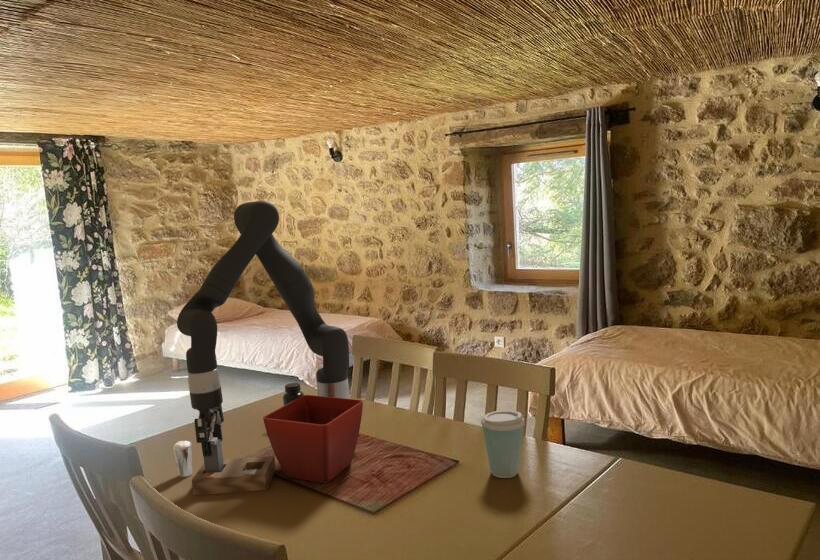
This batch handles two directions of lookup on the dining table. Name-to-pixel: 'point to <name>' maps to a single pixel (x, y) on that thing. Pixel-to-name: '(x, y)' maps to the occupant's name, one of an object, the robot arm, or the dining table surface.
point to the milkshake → (183, 458)
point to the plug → (214, 457)
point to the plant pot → (315, 436)
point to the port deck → (236, 476)
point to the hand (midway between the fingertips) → (213, 448)
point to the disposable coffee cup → (503, 441)
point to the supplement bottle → (292, 393)
